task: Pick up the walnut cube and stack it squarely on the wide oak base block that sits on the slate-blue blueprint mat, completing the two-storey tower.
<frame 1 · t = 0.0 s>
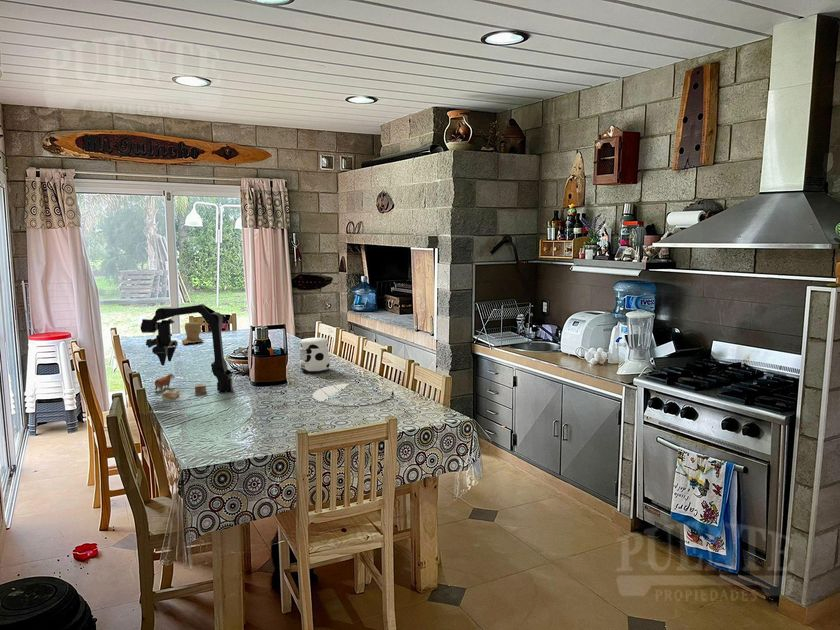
hand: (166, 363, 302), 15 cm above the table, tool pointing down, fingers open, 9 cm apart
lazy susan: (353, 395, 298), on the table
oak base block: (171, 397, 291), point 1 cm above the table, touching blueprint mat
walnut cube: (200, 395, 299), on the table
stone cup: (191, 343, 433), on the table
bull figurine: (164, 391, 307), on the table
blueprint mat: (175, 399, 291), on the table
milk container: (315, 371, 348), on the table
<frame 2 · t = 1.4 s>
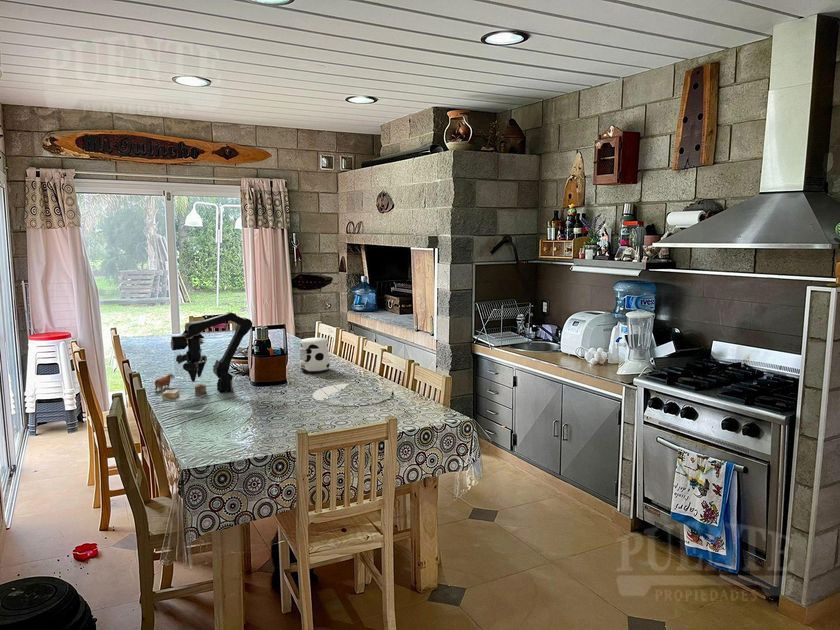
hand: (196, 379, 297), 8 cm above the table, tool pointing down, fingers open, 9 cm apart
nothing on the table moved.
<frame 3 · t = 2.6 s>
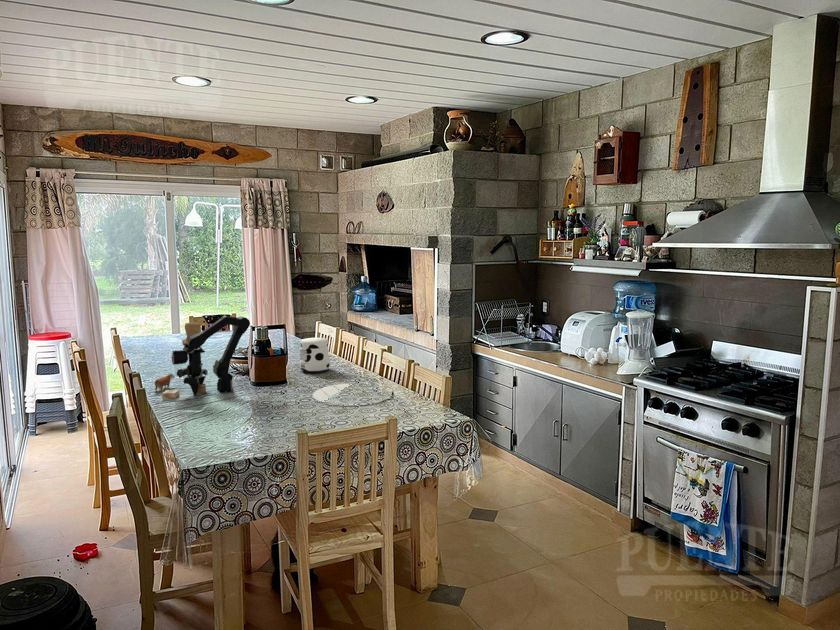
hand: (196, 393, 298), 1 cm above the table, tool pointing down, fingers closed on walnut cube, 5 cm apart
walnut cube: (200, 395, 299), on the table, touching gripper
everything else where it was.
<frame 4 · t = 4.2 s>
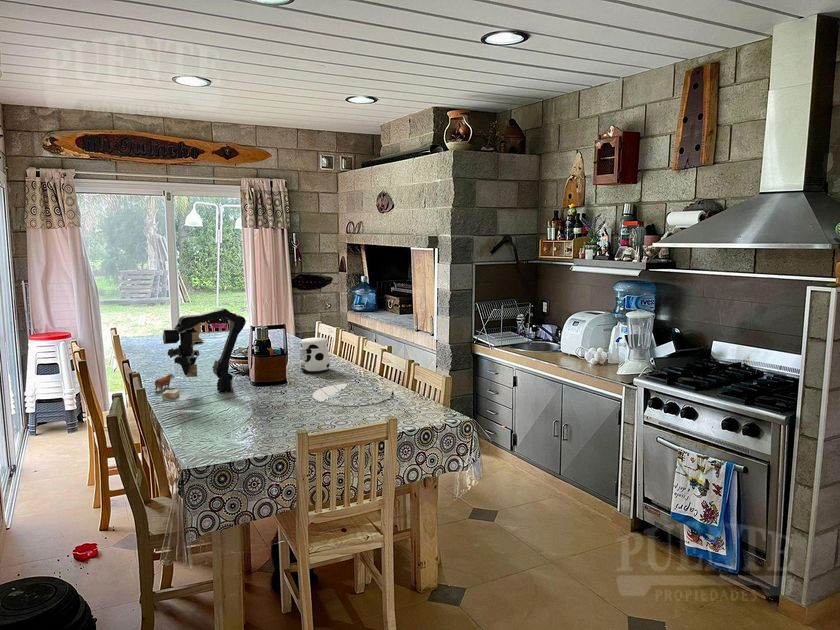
hand: (187, 373, 294), 11 cm above the table, tool pointing down, fingers closed on walnut cube, 5 cm apart
walnut cube: (191, 375, 295), point 10 cm above the table, touching gripper
everything else where it was.
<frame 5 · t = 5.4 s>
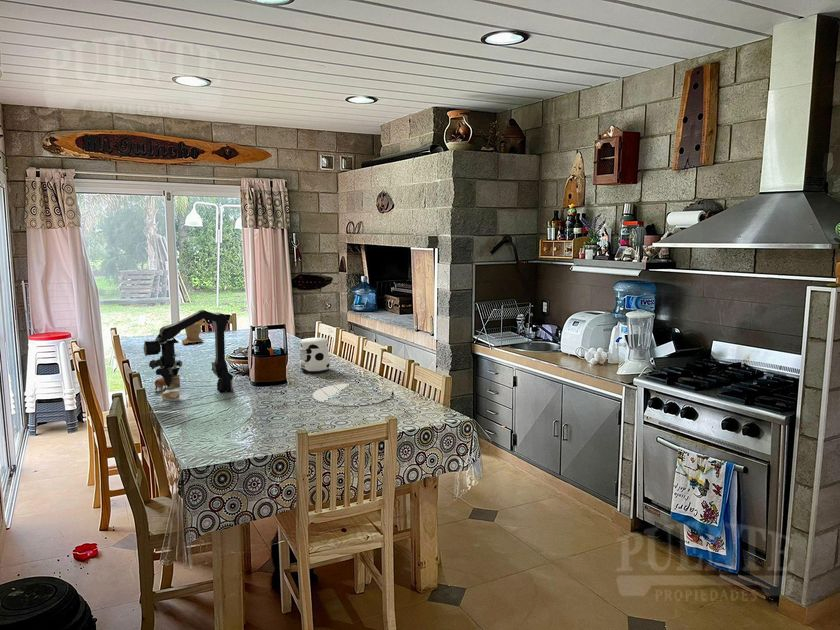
hand: (170, 385, 290), 7 cm above the table, tool pointing down, fingers closed on walnut cube, 5 cm apart
walnut cube: (174, 386, 290), point 6 cm above the table, touching gripper
everything else where it was.
when the fingers open (6 cm above the table, at t = 5.9 s): walnut cube drops 2 cm, resting on oak base block.
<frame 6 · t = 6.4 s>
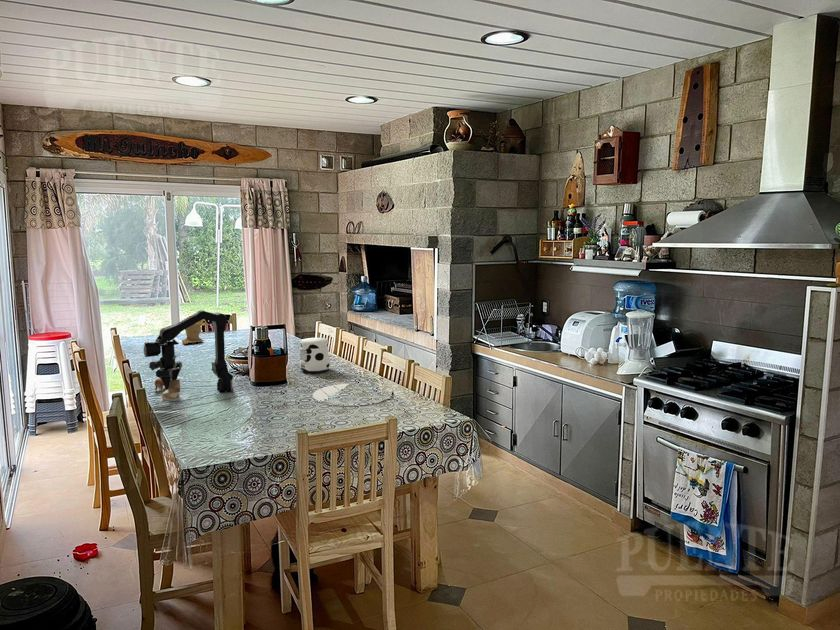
hand: (170, 386, 290), 6 cm above the table, tool pointing down, fingers open, 9 cm apart
oak base block: (171, 397, 291), point 1 cm above the table, touching blueprint mat, walnut cube
walnut cube: (174, 391, 291), point 4 cm above the table, touching oak base block
everything else where it was.
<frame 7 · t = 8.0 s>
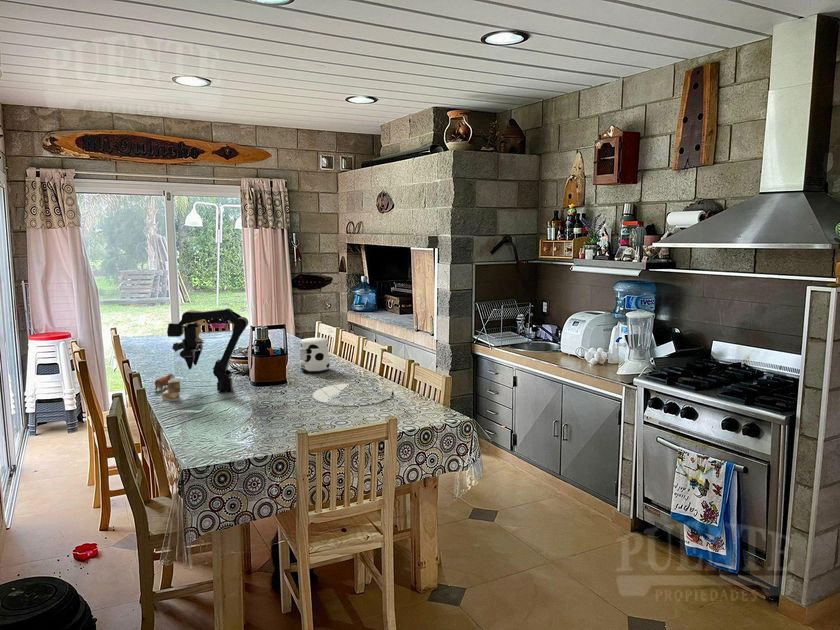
hand: (192, 367, 302), 13 cm above the table, tool pointing down, fingers open, 9 cm apart
nothing on the table moved.
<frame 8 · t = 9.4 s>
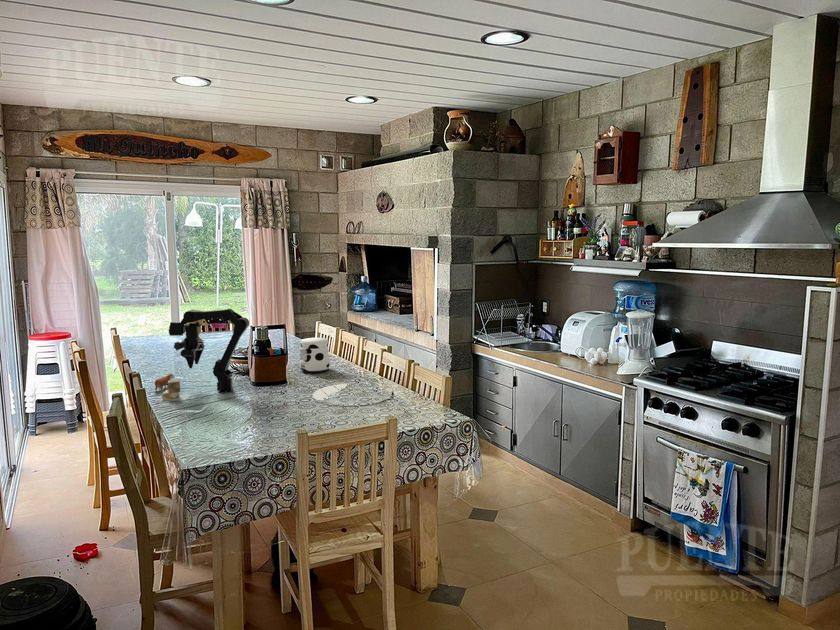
hand: (193, 366, 303), 13 cm above the table, tool pointing down, fingers open, 9 cm apart
nothing on the table moved.
at the end: walnut cube 1.7 cm from the oak base block (horizontally); walnut cube touching oak base block; walnut cube point 4.0 cm above the table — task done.
